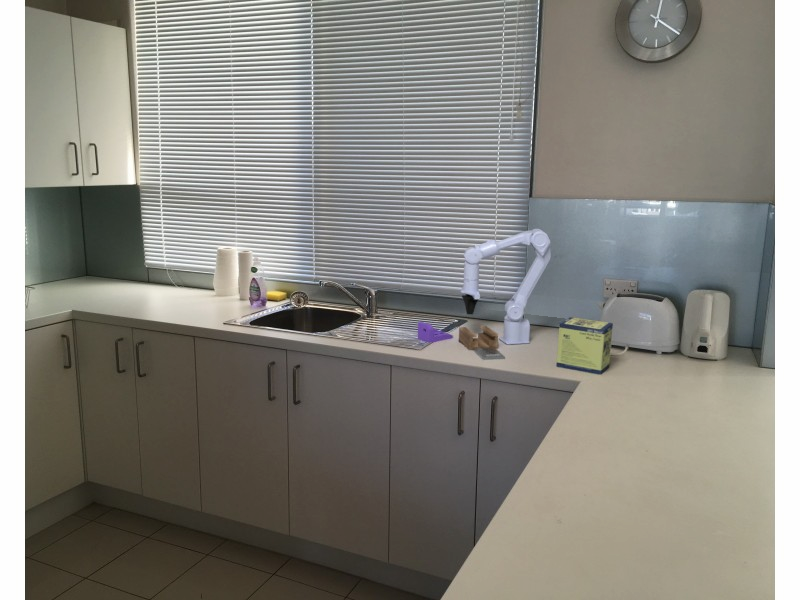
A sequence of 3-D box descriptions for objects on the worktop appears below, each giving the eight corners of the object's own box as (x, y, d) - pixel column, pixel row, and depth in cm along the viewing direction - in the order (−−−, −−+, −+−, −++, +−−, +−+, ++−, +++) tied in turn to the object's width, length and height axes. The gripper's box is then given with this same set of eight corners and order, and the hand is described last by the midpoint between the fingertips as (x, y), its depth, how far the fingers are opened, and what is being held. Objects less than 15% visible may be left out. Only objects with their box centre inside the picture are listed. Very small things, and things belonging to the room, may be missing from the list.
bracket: (428, 343, 257) (429, 326, 255) (417, 339, 262) (418, 322, 260) (452, 339, 264) (453, 322, 262) (441, 335, 269) (441, 318, 268)
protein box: (601, 375, 222) (605, 329, 219) (555, 366, 230) (558, 322, 227) (610, 367, 231) (613, 322, 228) (565, 359, 239) (568, 316, 236)
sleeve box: (485, 340, 262) (486, 326, 261) (497, 348, 250) (498, 334, 249) (458, 341, 259) (459, 327, 258) (469, 350, 248) (469, 335, 247)
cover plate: (493, 350, 250) (493, 345, 249) (504, 360, 238) (504, 355, 238) (472, 351, 248) (473, 346, 248) (482, 361, 237) (483, 356, 236)
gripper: (455, 276, 262) (453, 310, 265) (467, 282, 248) (466, 318, 251) (472, 275, 264) (470, 309, 266) (485, 282, 250) (484, 318, 253)
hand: (469, 314), depth 259 cm, fingers closed
